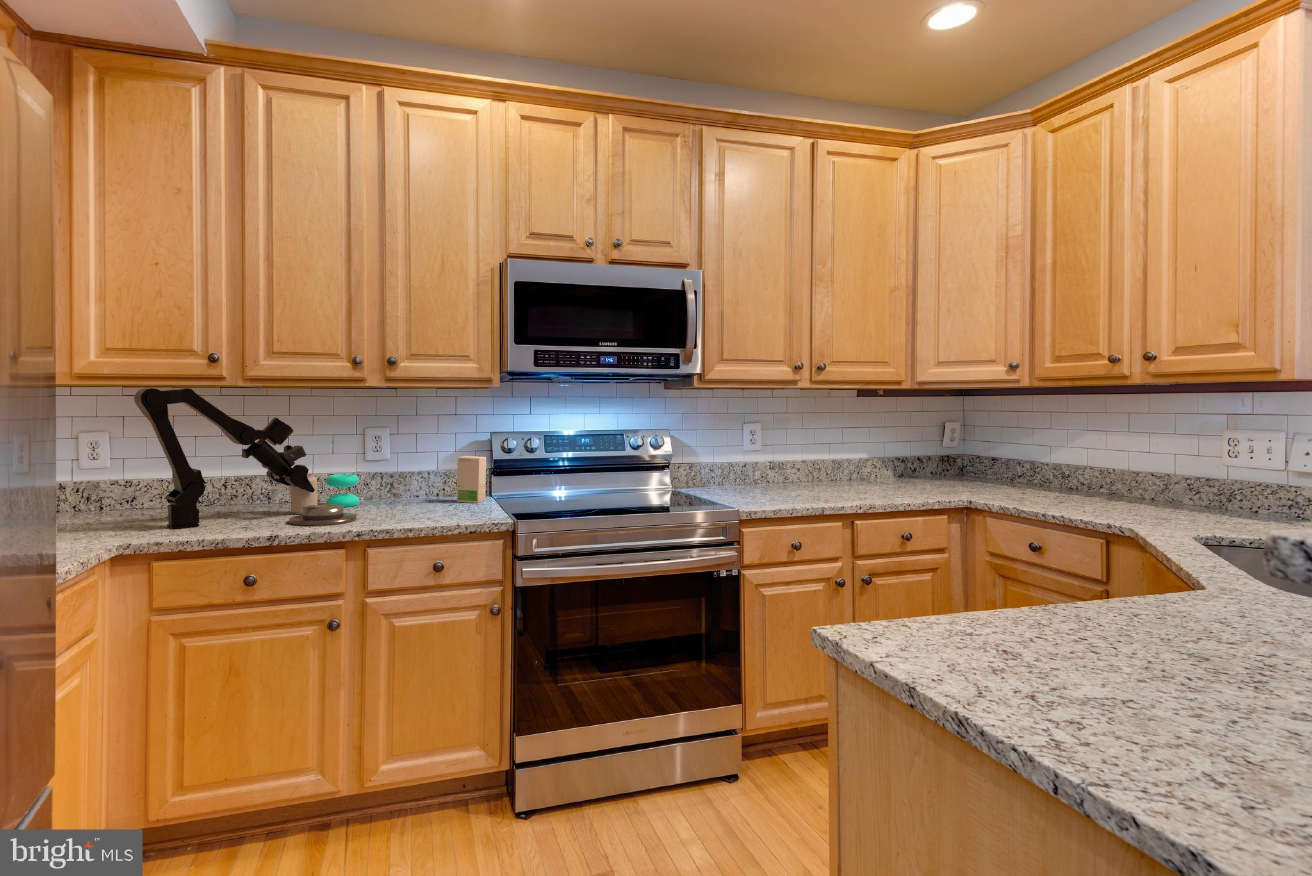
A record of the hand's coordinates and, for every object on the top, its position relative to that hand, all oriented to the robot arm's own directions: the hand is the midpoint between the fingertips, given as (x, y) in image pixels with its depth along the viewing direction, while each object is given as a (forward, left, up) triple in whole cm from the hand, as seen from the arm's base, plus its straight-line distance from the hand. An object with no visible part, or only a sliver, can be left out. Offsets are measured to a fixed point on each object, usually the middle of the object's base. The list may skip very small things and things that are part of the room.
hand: (307, 490), depth 232 cm
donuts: (+14, +6, -7) cm, 17 cm away
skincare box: (+49, -16, -7) cm, 52 cm away
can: (-1, 0, -7) cm, 7 cm away
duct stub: (-3, -18, -7) cm, 20 cm away
